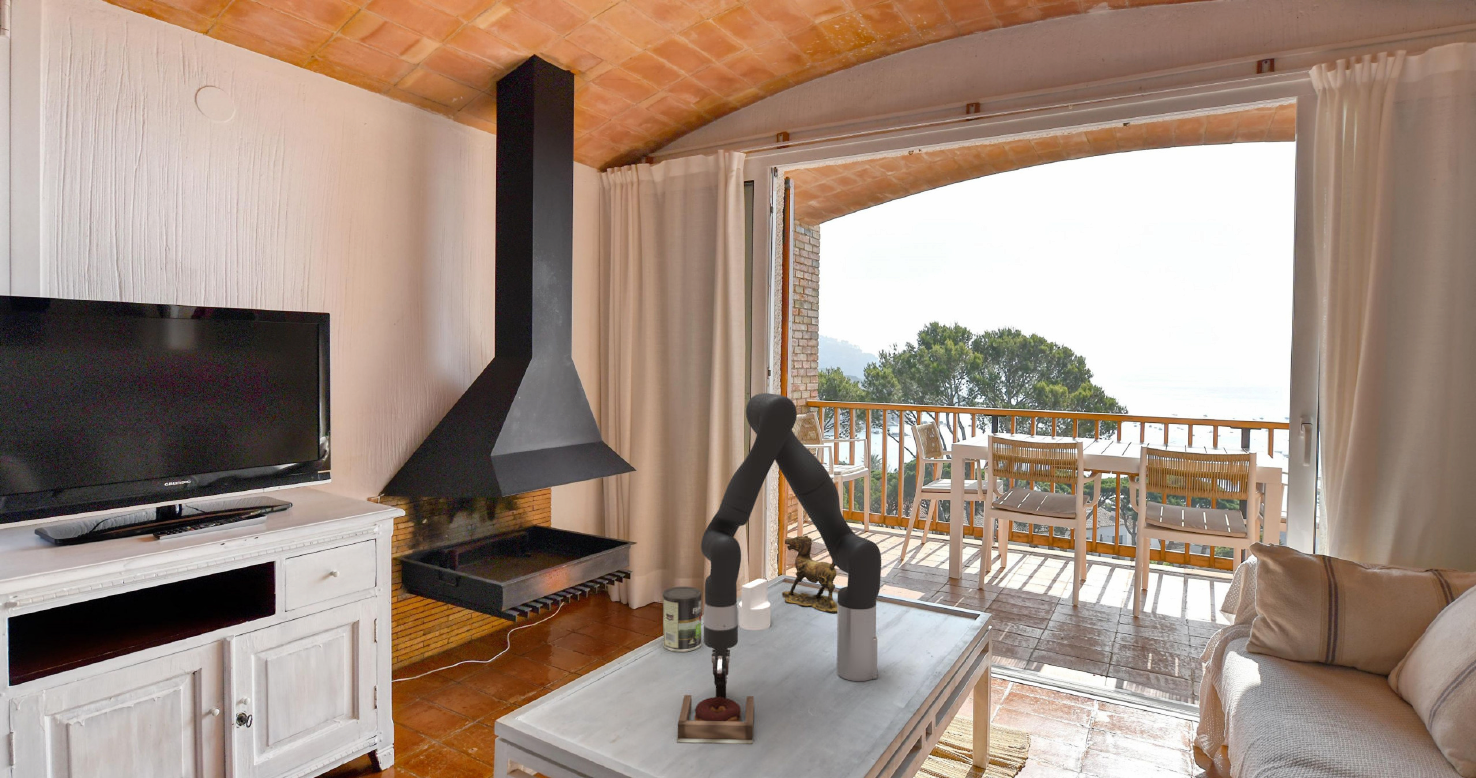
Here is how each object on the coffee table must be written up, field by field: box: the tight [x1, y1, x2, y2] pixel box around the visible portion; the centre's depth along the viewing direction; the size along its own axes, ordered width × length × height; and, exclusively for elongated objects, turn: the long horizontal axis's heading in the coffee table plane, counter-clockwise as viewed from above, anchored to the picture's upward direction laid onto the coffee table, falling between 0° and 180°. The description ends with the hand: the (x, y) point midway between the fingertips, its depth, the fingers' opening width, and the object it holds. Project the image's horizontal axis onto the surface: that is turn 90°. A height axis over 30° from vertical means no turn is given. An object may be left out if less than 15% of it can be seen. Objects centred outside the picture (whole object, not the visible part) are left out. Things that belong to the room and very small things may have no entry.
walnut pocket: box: [676, 694, 755, 745], centre depth 151 cm, size 15×14×3 cm
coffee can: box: [662, 586, 703, 653], centre depth 193 cm, size 10×10×14 cm
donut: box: [693, 696, 742, 722], centre depth 153 cm, size 10×10×4 cm
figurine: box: [781, 535, 837, 615], centre depth 225 cm, size 13×25×20 cm, turn 42°
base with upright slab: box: [738, 578, 771, 632], centre depth 208 cm, size 9×9×12 cm
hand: (721, 699), depth 161 cm, fingers closed
